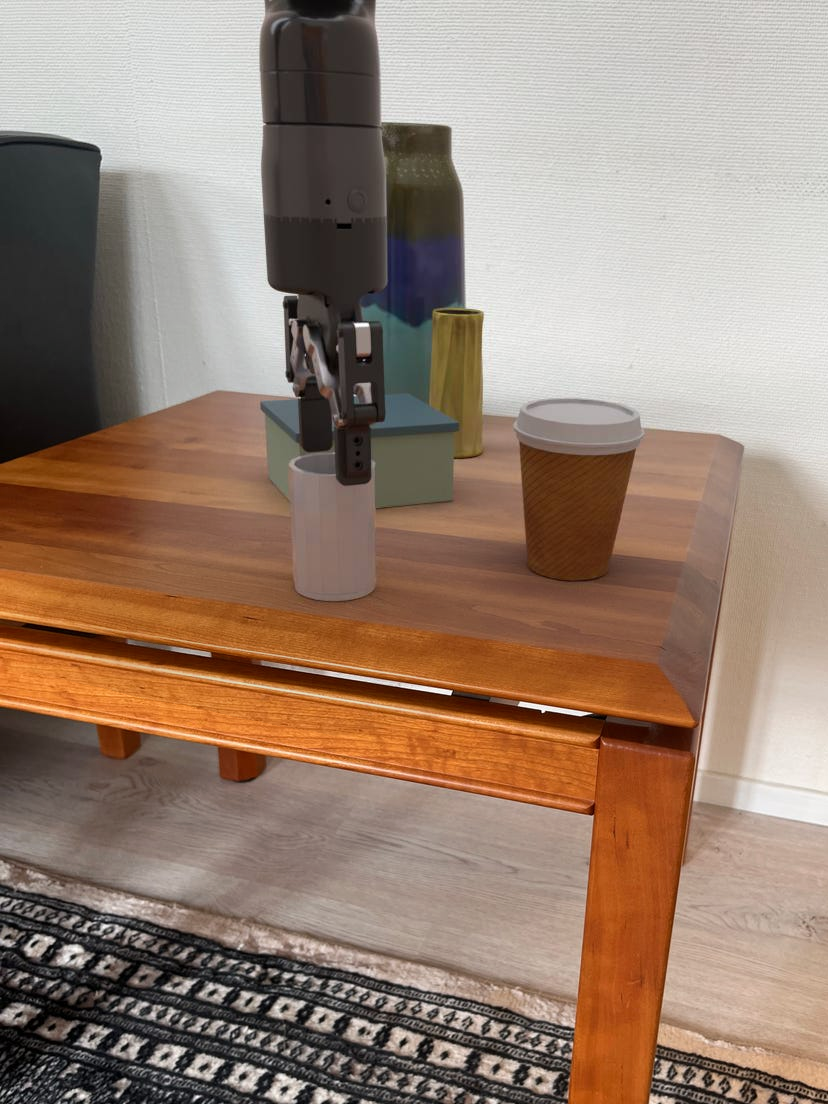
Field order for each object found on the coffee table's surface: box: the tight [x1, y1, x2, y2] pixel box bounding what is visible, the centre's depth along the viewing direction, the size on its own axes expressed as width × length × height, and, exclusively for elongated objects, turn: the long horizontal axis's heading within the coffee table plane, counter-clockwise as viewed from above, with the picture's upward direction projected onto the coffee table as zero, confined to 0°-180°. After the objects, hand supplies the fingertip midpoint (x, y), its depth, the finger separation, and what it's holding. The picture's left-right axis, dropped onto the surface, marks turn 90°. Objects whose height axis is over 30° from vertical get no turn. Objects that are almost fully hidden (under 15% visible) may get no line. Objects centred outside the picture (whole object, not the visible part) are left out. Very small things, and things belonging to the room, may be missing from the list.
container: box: [259, 393, 459, 509], centre depth 93 cm, size 15×13×7 cm
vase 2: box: [429, 307, 485, 459], centre depth 105 cm, size 6×6×14 cm
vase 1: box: [360, 121, 467, 405], centre depth 116 cm, size 14×14×31 cm
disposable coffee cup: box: [512, 397, 646, 581], centre depth 76 cm, size 10×10×12 cm
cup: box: [288, 452, 377, 602], centre depth 71 cm, size 6×6×9 cm
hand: (334, 466), depth 70 cm, fingers open, 8 cm apart
